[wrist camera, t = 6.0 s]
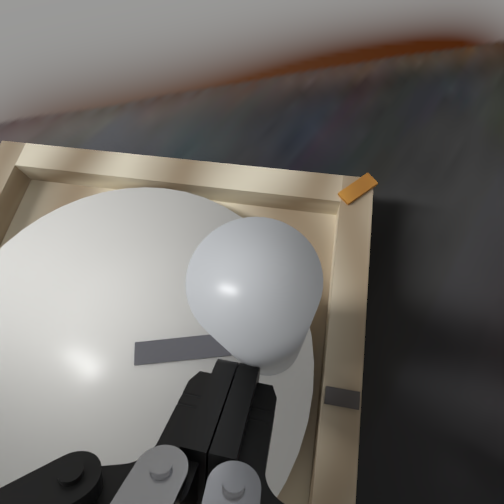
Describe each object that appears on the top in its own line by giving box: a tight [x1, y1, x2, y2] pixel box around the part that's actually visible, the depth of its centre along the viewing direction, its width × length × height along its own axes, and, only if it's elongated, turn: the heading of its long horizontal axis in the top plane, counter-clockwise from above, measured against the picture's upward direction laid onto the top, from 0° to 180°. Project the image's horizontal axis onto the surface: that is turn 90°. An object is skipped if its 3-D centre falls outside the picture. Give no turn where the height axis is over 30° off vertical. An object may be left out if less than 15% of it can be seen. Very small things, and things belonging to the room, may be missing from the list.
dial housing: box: [0, 141, 378, 504], centre depth 18 cm, size 22×22×3 cm
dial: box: [0, 187, 323, 497], centre depth 13 cm, size 18×18×10 cm
